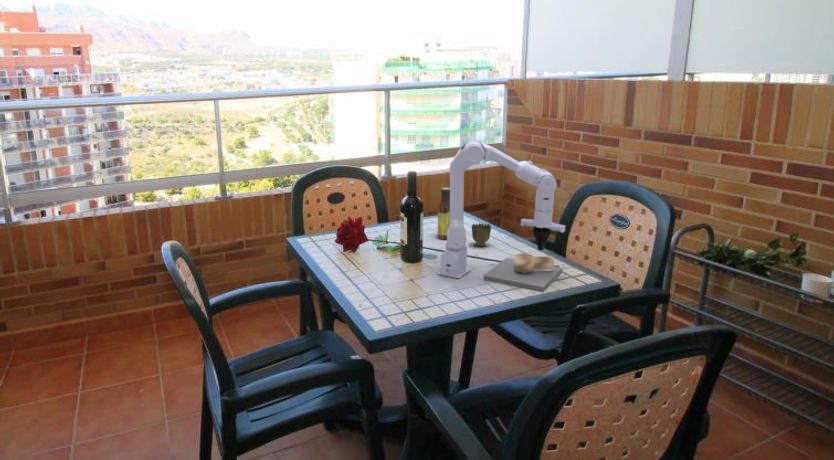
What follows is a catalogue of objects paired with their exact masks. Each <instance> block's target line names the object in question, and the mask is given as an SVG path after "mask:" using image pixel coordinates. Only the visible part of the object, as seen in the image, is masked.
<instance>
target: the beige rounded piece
mask: <svg viewBox="0 0 834 460" xmlns="http://www.w3.org/2000/svg"><path fill="white" fill-rule="evenodd" d="M514 259H515V260H514V269H515V270H516V271H520V272H531V271H533V270H534V268H553V266H554V265H555V258H554V257H553V256H533V255H531V254H528V253H518V254H515V255H514Z"/></svg>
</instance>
